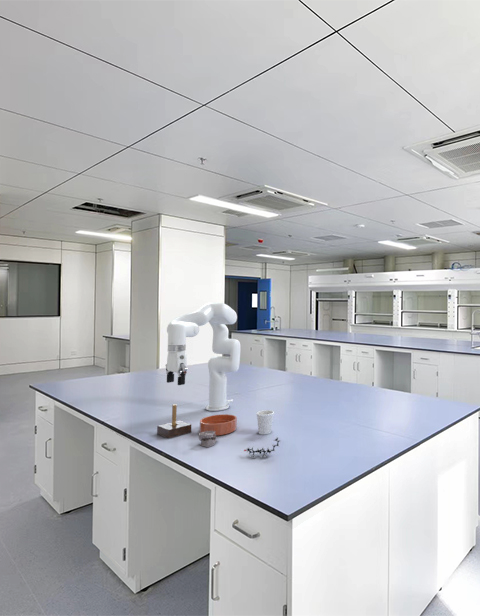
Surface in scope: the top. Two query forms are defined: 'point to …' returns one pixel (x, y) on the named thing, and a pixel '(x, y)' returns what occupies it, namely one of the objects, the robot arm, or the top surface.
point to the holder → (174, 429)
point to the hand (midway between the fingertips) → (175, 383)
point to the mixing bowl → (219, 424)
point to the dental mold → (207, 438)
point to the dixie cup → (265, 421)
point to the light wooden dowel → (174, 414)
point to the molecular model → (262, 449)
